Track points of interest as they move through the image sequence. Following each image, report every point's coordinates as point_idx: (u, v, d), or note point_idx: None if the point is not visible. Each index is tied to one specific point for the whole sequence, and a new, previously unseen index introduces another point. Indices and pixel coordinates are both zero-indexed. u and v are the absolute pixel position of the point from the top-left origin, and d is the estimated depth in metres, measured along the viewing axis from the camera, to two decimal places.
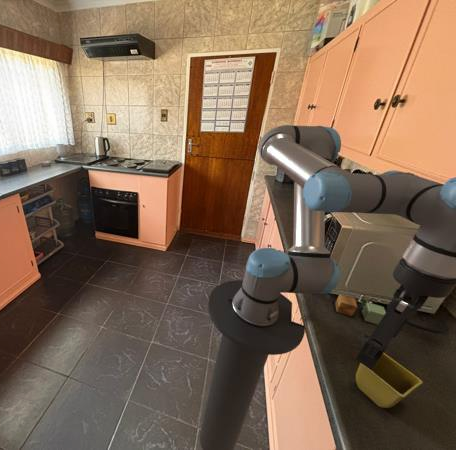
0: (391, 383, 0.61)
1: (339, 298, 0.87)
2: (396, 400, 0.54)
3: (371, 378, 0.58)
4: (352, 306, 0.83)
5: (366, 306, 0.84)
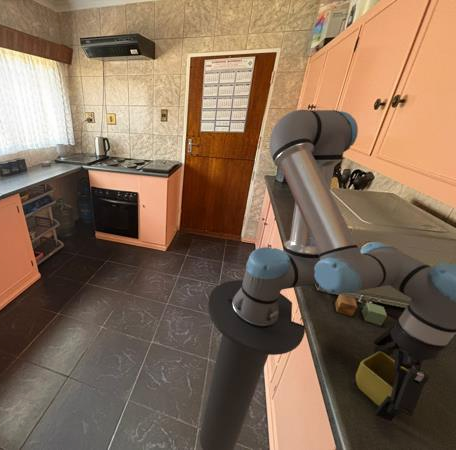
0: (391, 383, 0.61)
1: (339, 298, 0.87)
2: None
3: (371, 378, 0.58)
4: (352, 306, 0.83)
5: (366, 306, 0.84)
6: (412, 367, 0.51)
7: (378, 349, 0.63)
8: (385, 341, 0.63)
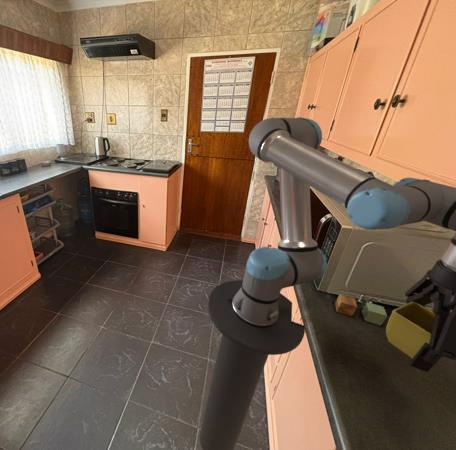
0: None
1: (339, 298, 0.87)
2: None
3: (405, 327, 0.53)
4: (352, 306, 0.83)
5: (366, 306, 0.84)
6: None
7: (411, 300, 0.58)
8: (419, 291, 0.57)
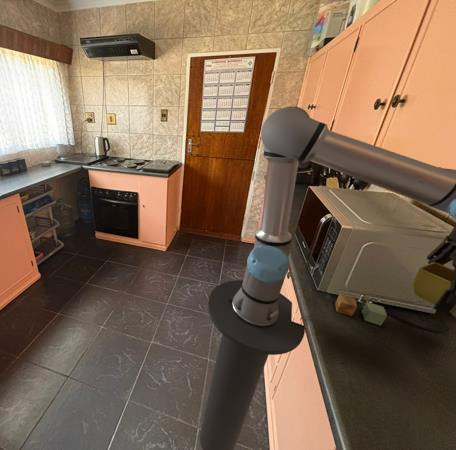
0: None
1: (339, 298, 0.87)
2: None
3: (430, 279, 0.67)
4: (352, 306, 0.83)
5: (366, 306, 0.84)
6: None
7: (432, 261, 0.72)
8: (439, 253, 0.71)
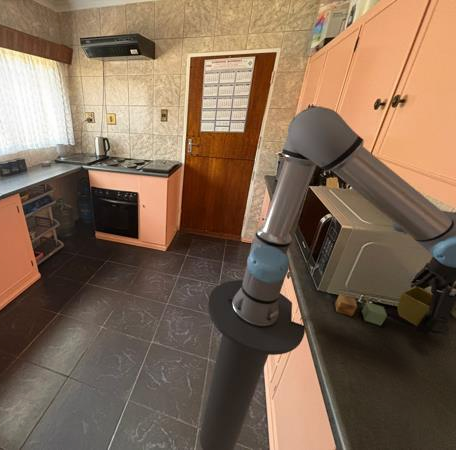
0: None
1: (339, 298, 0.87)
2: None
3: (411, 303, 0.74)
4: (352, 306, 0.83)
5: (366, 306, 0.84)
6: (446, 287, 0.67)
7: (414, 285, 0.79)
8: (420, 278, 0.79)
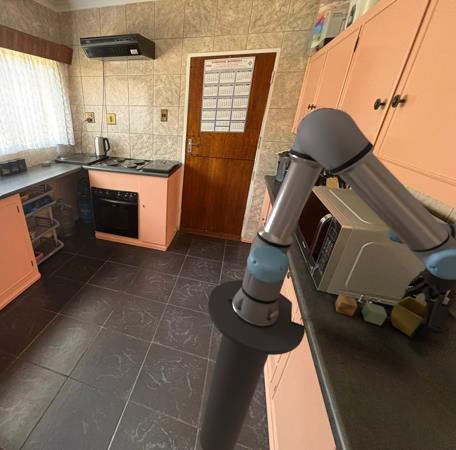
0: None
1: (339, 298, 0.87)
2: None
3: (404, 314, 0.76)
4: (352, 306, 0.83)
5: (366, 306, 0.84)
6: (439, 296, 0.69)
7: (408, 290, 0.81)
8: (414, 284, 0.81)
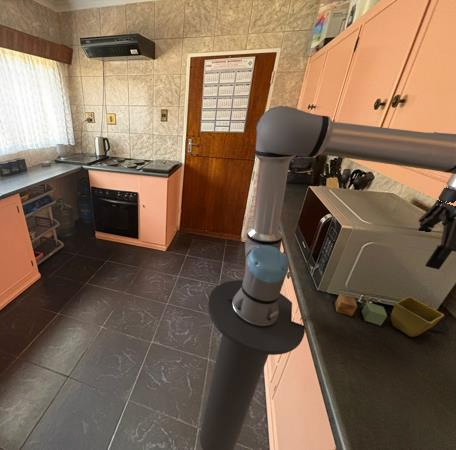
0: None
1: (339, 298, 0.87)
2: (425, 327, 0.73)
3: (404, 314, 0.76)
4: (352, 306, 0.83)
5: (366, 306, 0.84)
6: None
7: (423, 222, 0.77)
8: (430, 216, 0.77)
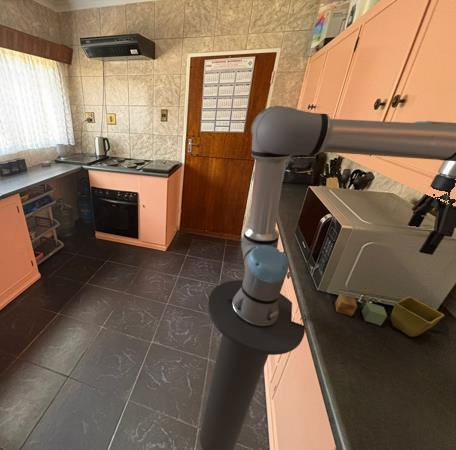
0: None
1: (339, 298, 0.87)
2: (425, 327, 0.73)
3: (404, 314, 0.76)
4: (352, 306, 0.83)
5: (366, 306, 0.84)
6: None
7: (416, 210, 0.79)
8: (422, 204, 0.79)
